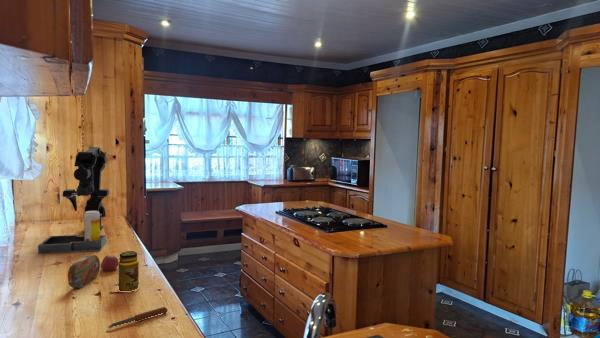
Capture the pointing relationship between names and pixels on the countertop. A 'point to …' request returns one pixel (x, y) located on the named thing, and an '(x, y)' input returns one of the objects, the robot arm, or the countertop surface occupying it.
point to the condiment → (128, 271)
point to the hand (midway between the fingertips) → (86, 210)
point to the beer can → (92, 226)
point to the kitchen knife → (141, 316)
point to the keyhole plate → (70, 244)
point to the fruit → (109, 263)
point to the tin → (83, 271)
